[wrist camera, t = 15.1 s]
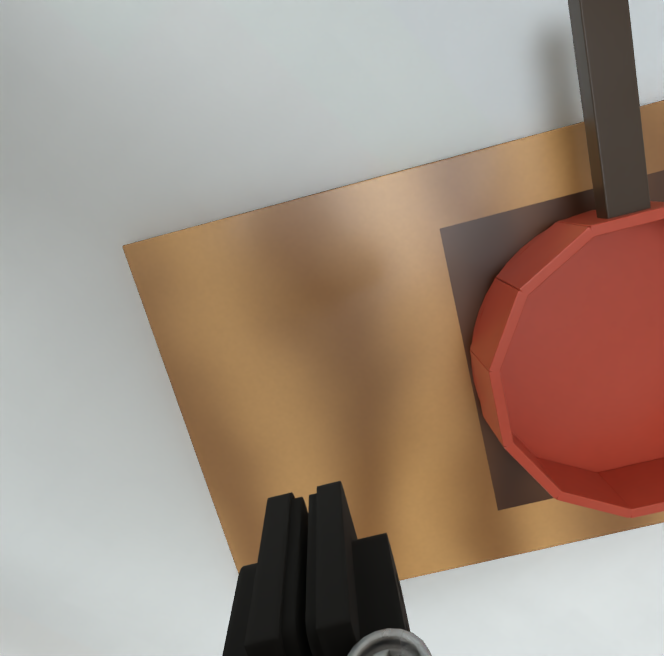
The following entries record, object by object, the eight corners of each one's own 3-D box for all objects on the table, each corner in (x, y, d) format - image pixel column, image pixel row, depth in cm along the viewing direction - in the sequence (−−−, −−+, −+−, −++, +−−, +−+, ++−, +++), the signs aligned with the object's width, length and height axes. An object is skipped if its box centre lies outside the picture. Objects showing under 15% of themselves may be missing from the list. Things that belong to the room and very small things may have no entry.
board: (255, 598, 32) (252, 613, 31) (130, 243, 27) (121, 246, 26) (795, 478, 30) (814, 489, 29) (774, 70, 25) (796, 64, 24)
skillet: (497, 496, 29) (522, 543, 25) (407, 57, 24) (421, 31, 20) (757, 437, 28) (824, 476, 25) (725, -32, 23) (804, -78, 19)
